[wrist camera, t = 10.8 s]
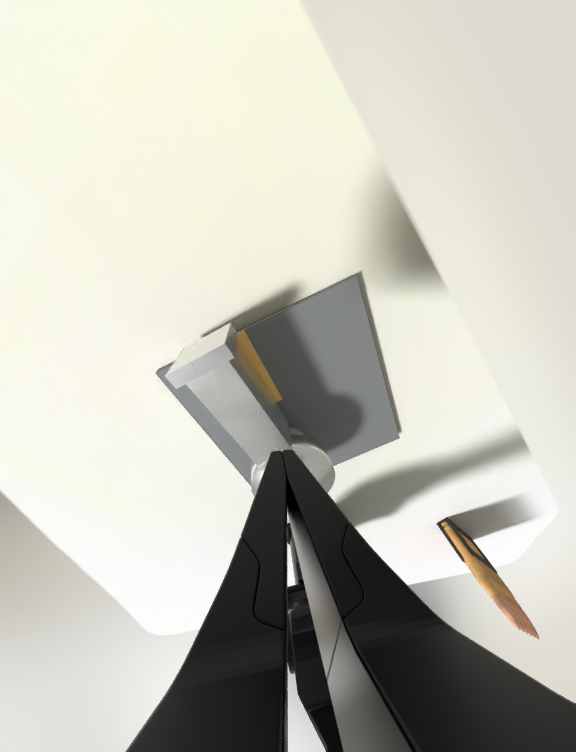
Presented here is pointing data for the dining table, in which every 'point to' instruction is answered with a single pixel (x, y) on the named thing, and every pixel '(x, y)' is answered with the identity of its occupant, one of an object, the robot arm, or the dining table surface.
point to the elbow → (244, 404)
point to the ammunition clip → (486, 576)
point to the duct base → (312, 376)
